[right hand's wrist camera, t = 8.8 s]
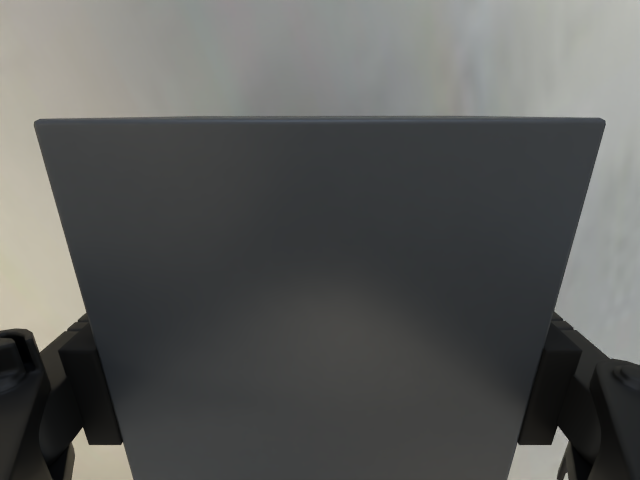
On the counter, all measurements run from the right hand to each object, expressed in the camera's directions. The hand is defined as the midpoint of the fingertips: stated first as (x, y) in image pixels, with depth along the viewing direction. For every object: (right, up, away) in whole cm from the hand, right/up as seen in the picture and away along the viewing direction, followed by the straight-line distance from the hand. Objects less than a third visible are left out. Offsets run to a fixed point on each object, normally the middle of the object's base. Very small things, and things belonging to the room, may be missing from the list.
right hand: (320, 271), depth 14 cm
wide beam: (0, -18, +7) cm, 20 cm away
